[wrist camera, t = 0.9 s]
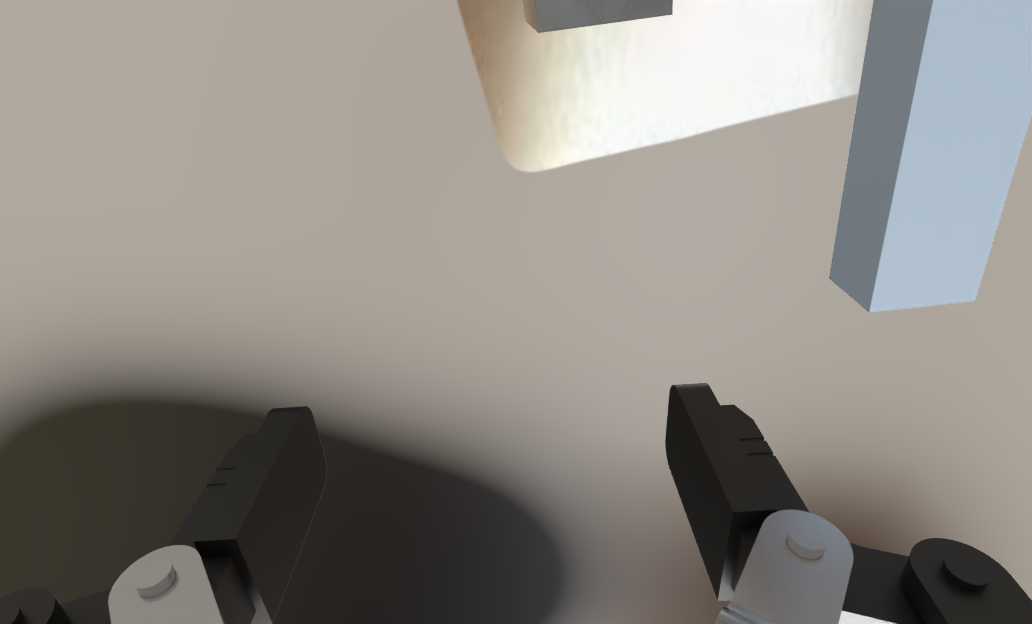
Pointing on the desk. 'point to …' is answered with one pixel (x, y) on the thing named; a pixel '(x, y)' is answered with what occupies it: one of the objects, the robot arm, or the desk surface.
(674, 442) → the robot arm
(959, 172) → the block
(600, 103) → the desk surface
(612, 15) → the tall grey pillar
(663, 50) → the desk surface
